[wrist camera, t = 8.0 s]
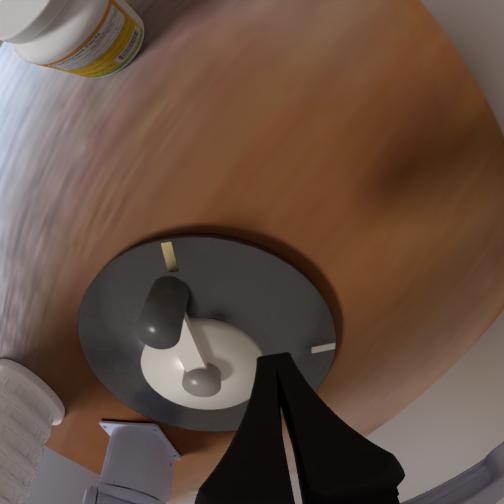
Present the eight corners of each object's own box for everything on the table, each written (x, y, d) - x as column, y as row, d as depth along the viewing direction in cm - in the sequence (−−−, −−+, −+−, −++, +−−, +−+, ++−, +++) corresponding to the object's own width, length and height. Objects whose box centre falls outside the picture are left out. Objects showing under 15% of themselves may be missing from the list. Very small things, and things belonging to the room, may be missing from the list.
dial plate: (327, 408, 28) (329, 416, 27) (137, 425, 28) (135, 433, 27) (332, 210, 19) (338, 215, 18) (45, 258, 19) (38, 264, 18)
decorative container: (28, 357, 23) (-35, 483, 7) (81, 421, 28) (49, 534, 11) (-17, 358, 23) (-71, 451, 7) (29, 415, 28) (-5, 504, 12)
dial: (273, 392, 24) (279, 432, 20) (170, 405, 24) (164, 444, 20) (238, 257, 19) (240, 296, 14) (102, 286, 19) (77, 324, 15)
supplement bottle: (70, 29, 12) (-16, -8, 3) (140, -2, 12) (82, -75, 3) (78, 91, 14) (-23, 81, 5) (152, 61, 14) (81, 7, 5)
